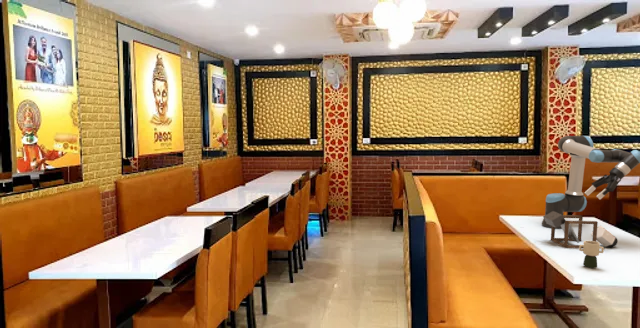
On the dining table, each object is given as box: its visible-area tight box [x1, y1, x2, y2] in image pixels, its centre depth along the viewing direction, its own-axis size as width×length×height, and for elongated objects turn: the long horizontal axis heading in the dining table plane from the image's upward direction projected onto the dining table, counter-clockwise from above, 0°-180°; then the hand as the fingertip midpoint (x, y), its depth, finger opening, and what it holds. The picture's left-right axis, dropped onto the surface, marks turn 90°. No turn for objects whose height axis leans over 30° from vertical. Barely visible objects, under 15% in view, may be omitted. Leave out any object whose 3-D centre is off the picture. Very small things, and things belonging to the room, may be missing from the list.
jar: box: [590, 225, 618, 249], centre depth 279 cm, size 9×8×12 cm
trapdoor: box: [543, 211, 580, 244], centre depth 284 cm, size 14×19×8 cm
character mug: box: [578, 240, 605, 269], centre depth 239 cm, size 11×7×13 cm, turn 68°
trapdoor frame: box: [550, 214, 599, 249], centre depth 284 cm, size 18×18×16 cm
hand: (592, 196), depth 281 cm, fingers open, 13 cm apart
